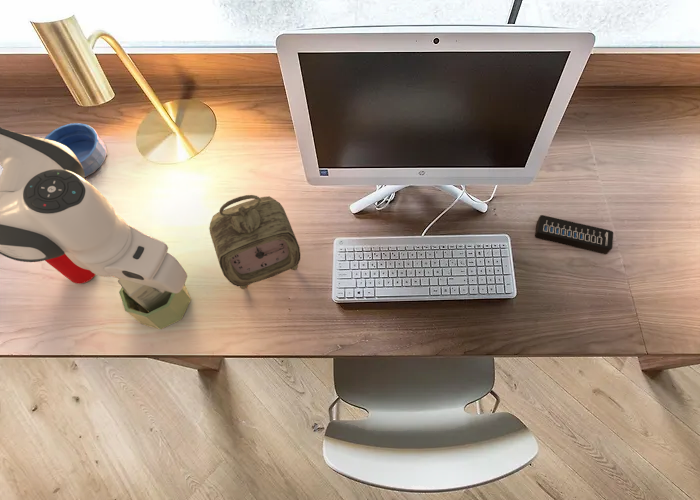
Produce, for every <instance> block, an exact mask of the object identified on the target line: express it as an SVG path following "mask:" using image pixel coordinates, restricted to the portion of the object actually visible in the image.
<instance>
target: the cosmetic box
mask: <svg viewBox="0 0 700 500" xmlns="http://www.w3.org/2000/svg"><path fill="white" fill-rule="evenodd" d="M117 282H118V284H119V285H120V287H121V288H123V289H124V290H125V292H126V293H127V294H128V295H129V296H130V297H131V298H132V299H134V300H135V301H136V302H137V303H139V304H138V305H140V306H141V307H142V308H143V309H145V310H146V312H147V313H149V312H151V311H153V310H155V309H157V308H159V307H162V306H164V305H166V304H167V303H168V300H169V298H170V296H171V294H172V293H171V292H168V291H164V292H163V293H161V292H157V291H155V290H154V289H153V288H152V287H149V286H146V285H142V284H138V283H135V282H131V281H127V280H124V279H119V280H118V279H117Z"/></svg>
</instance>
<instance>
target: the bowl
mask: <svg viewBox="0 0 700 500" xmlns="http://www.w3.org/2000/svg"><path fill="white" fill-rule="evenodd" d="M44 138H45V139H49V140H52V141H56V142H58V143H61V144H63V145H65V146H66V147H68V148H69V149H70V150H71V151H72V152H73V153H74V154H75V155H76V157H77V158H78V160H79V162H80V163H81V165H82V168H83V170H84V173H85V177H84V178H87V177H89V176H90V175H92V174H94V173H95V172H96V171H97V170H98V169H99V168H100V167H102V166H103V164H104V162H105V160H106V158H107V154H108V150H107V145H106V144H105V142H104V140H102V138H101V137H100V135H99V134H98V132H97V131H96V130H95V128H93V127H92V126H90V125H89V124H86V123H83V122H82V123H81V122H73V123H67V124H63V125H60V126H59V127H57V128H55V129H53V130H52V131H51V132H49V133H48V134H47V135H46V136H45V137H44Z"/></svg>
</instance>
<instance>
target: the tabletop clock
mask: <svg viewBox="0 0 700 500" xmlns="http://www.w3.org/2000/svg"><path fill="white" fill-rule="evenodd" d="M245 200H248V201H245ZM241 201H244V202H242V203H241ZM239 202H240V203H239ZM237 203H238V204H237ZM234 204H236V205H234ZM232 205H233V206H232ZM208 227H209V228H208V229H209V235H210V238H211V241H212V244H213V248H214V251H215V254H216V257H217V261H218V264H219V267H220V270H221V272H222V274H223V276H224V277H225V278H226V279H227V281H228V282H229V283H230V284H231V285H233V286H235V287H239V288H240V289H242V290H246V289H247V288H248V286H249V285H251V284H255V283H258V282H261V281H264V280H267V279H270V278H272V277H274V276H277V275H279V274H282V273H284V272H287V271H289V270H291V271H296V270H298V268H299V263H300V261H301V247H300V244H299V242H298V240H297V238H296V235H295V233H294V230H293V228H292V226H291V223H290V220H289V218H288V215H287V212H286V211H285V208H284V207H283V205H282V204H281V202H279V201H277V200H276V199H275V198H273V197H272V196H270V195H268V196H258V195H255V194H246V195H245V194H244V195H241V196H238V197H235V198H232V199H230V200H228V201H226V202H225V203H223V204H222V206H221V207H220V208H219V211H218V212H216V213H215V214H214V215H212V217H211V219H210V223H209V226H208Z"/></svg>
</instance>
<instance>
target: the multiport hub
mask: <svg viewBox="0 0 700 500" xmlns="http://www.w3.org/2000/svg"><path fill="white" fill-rule="evenodd" d="M534 238H535V239H538V240H542V241H543V240H544V241H548V242H552V243H556V244H559V245H564V246H569V247H573V248H577V249H581V250H585V251H589V252H594V253H599V254H602V255H608V253H610V252H611V250H612V249H613V244H614V243H613V242H614V231H613V230H611V229H605V228H602V227H596V226H593V225H588V224H583V223H579V222H575V221H571V220H565V219H562V218H557V217H552V216H550V215H549V216H548V215H544V214H541V215H539V217H538V219H537V220H536V225H535V231H534Z"/></svg>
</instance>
